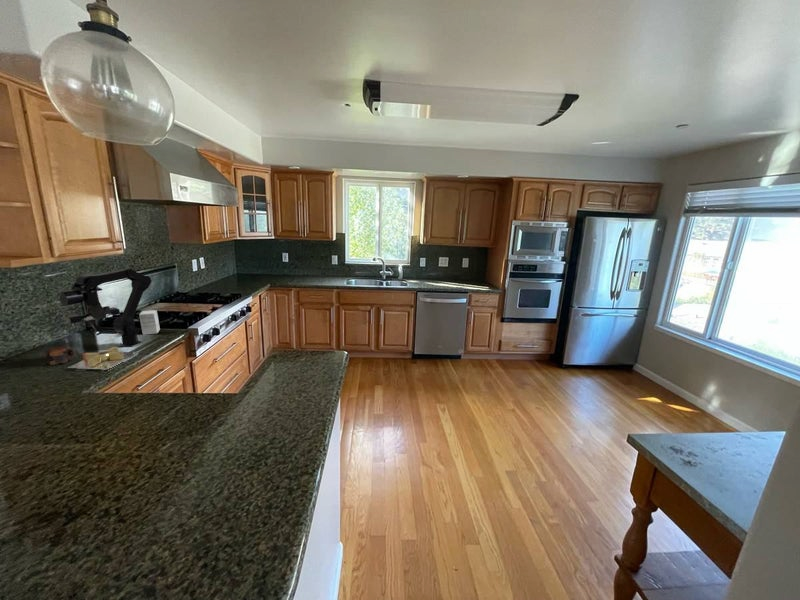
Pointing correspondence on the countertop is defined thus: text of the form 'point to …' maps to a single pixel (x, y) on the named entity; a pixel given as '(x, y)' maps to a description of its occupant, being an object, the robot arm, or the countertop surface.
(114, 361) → the flange plate
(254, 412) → the countertop surface
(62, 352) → the brown clawed figurine
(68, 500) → the countertop surface
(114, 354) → the brass cross latch
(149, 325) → the supplement box
